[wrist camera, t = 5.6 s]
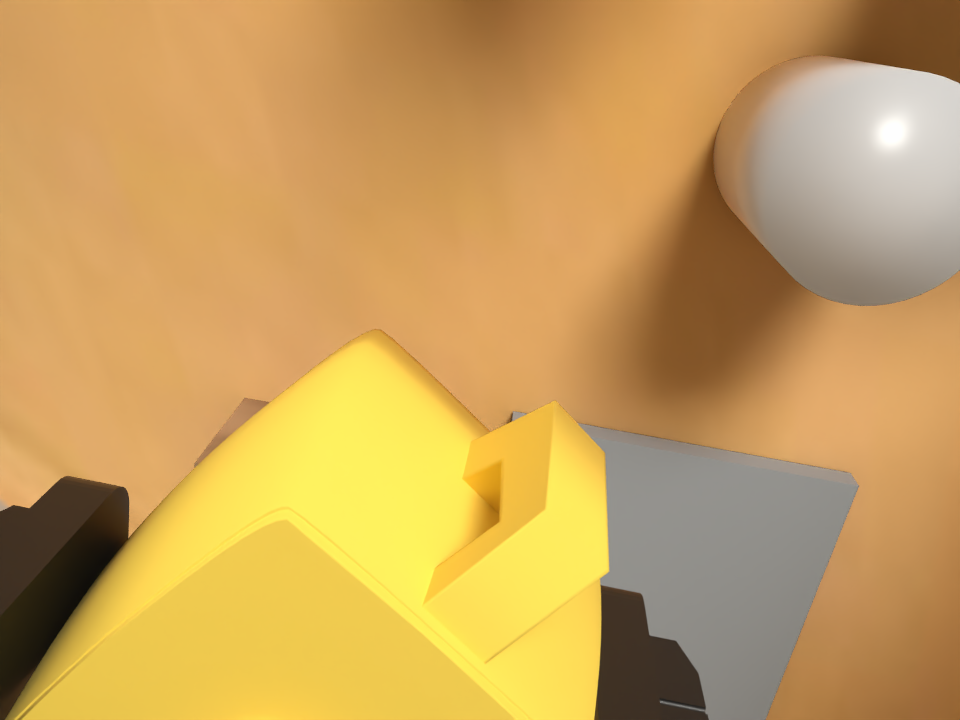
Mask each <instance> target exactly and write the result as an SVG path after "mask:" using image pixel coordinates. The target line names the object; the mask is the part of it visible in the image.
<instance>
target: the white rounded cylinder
mask: <svg viewBox="0 0 960 720" xmlns="http://www.w3.org/2000/svg"><path fill="white" fill-rule="evenodd" d="M713 163H714V173H715V178H716V183H717V185H718V188H719V191H720V193H721V195H722V197H723V199H724V201H725V203H726V204H727V206H728V207H729V208H730V210H731V211H732V212H733V213H734V214H735V215H736V216H737V218H738V219H739V220H740V221H741V222H742V223H743V224H744V225H745V226H746V227H747V228H748V230H749V231H750V232H751V233H752V234H753V235H754V236H755V237H756V238H757V239H758V240H759V242H760V243H761V244H762V245H763V246H764V247H765V248H766V249H767V250H768V251H769V252H770V254H771V255H772V256H773V257H774V258H775V259H776V260H777V261H778V262H779V263H780V264H781V266H782V267H783V268H784V269H785V270H786V271H787V272H788V273H789V274H790V275H791V276H792V277H793V278H794V279H795V280H796V281H797V282H798V283H800V284H801V285H802V286H804V287H805V288H806V289H808V290H810V291H812V292H813V293H815V294H817V295H819V296H821V297H824V298H826V299H829V300H831V301H835V302H839V303H843V304H850V305H858V306H876V305H884V304H891V303H896V302H900V301H904V300H907V299H910V298H913V297H915V296H918V295H921V294H923V293H925V292H927V291H929V290H931V289H933V288H935V287H937V286H938V285H940V284H941V283H943V282H945V281H946V280H948V279H949V278H951V277H952V276H953V275H954V274H956V273H957V272H958V271H959V270H960V84H959V83H958V82H955V81H953V80H951V79H948V78H946V77H943V76H940V75H936V74H932V73H928V72H922V71H916V70H910V69H904V68H898V67H892V66H886V65H880V64H874V63H868V62H862V61H856V60H850V59H844V58H838V57H831V56H806V57H799V58H795V59H792V60H788V61H785V62H782V63H780V64H778V65H776V66H773V67H771V68H770V69H768V70H766V71H765V72H763V73H761V74H760V75H759V76H757V77H756V78H755V79H753V80H752V81H751V82H750V83H749V84H748V85H746V86H745V87H744V88H743V89H742V90H741V91H740V93H739V94H738V95H737V96H736V98H735V99H734V100H733V101H732V103H731V105H730V106H729V108H728V109H727V111H726V113H725V115H724V117H723V119H722V121H721V123H720V126H719V129H718V132H717V135H716V140H715V145H714V155H713Z"/></svg>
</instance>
